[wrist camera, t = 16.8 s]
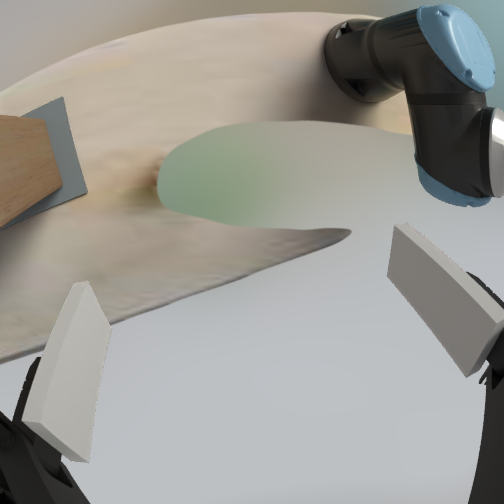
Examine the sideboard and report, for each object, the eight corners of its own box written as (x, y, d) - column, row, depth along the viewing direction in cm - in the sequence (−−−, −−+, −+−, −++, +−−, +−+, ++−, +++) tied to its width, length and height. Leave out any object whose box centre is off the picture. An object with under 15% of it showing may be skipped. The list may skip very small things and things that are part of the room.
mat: (63, 97, 31) (62, 96, 30) (87, 191, 36) (87, 192, 36) (-25, 144, 27) (-26, 144, 27) (1, 230, 33) (-1, 231, 33)
